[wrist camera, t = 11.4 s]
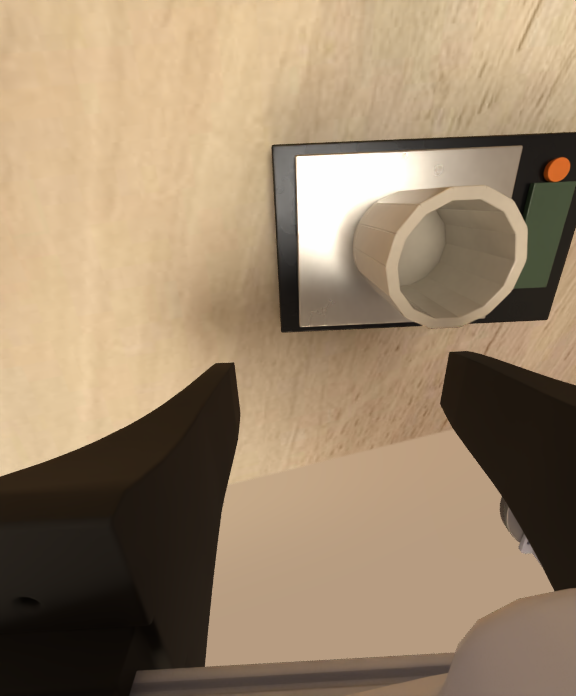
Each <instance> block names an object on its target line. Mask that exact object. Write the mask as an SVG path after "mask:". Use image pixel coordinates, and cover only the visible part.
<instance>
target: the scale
mask: <svg viewBox="0 0 576 696" xmlns="http://www.w3.org/2000/svg"><path fill="white" fill-rule="evenodd" d="M272 164H273V184H274V203H275V222H276V241H277V260H278V280H279V299H280V318H281V332H283V333H284V332H305V331H326V330H347V329H368V328H389V327H410V326H423V325H420V324H418V323H416V322H413V321H411V320H409V319H407V318H406V317H404V316H403V315H402V314H401V313H400V312H399V311H398V310H396V309H395V308H394V307H393V306H392V305H391V304H390V303H389V302H388V301H387V300H385V299H384V298H383V297H382V296H381V295H380V294H379V293H378V292H377V291H376V290H374V289H373V288H372V287H371V286H370V285H369V284H368V282H367V281H366V280H365V279H364V278H363V277H362V276H361V274H360V273H359V271H358V269H357V267H356V265H355V262H354V258H353V238H354V234H355V231H356V228H357V225H358V223H359V221H360V220H361V218H362V216H363V215H364V214H365V212H366V211H367V210H368V209H369V208H370V207H371V206H372V205H373V204H374V203H375V202H377V201H378V200H379V199H381V198H383V197H385V196H387V195H389V194H392V193H396V192H398V191H405V190H417V189H428V188H440V187H451V186H472V185H486V186H489V187H491V188H493V189H495V190H496V191H498V192H500V193H502V194H504V195H505V196H507V197H509V198H511V199H512V200H513V201H514V202H515V203H516V205H517V207H518V209H519V211H520V213H521V215H522V217H523V219H524V221H525V223H526V225H527V228H528V240H527V260H526V263H525V265H524V267H523V269H522V271H521V273H520V275H519V278H518V280H517V282H516V284H515V286H514V288H513V290H511V292H510V293H509V294H508V295H507V296H506V297H505V298H504V299H503V300H502V301H501V302H500V303H499V304H498V305H497V306H496V307H495V308H494V309H493V310H492V311H491V312H490V313H489V314H487V315H486V316H483V317H481V318H479V319H477V320H475V321H473V322H470V323H468V324H473V323H494V322H515V321H536V320H547V319H548V316H549V313H550V310H551V307H552V303H553V300H554V297H555V293H556V290H557V287H558V284H559V280H560V277H561V274H562V271H563V267H564V264H565V261H566V257H567V254H568V251H569V248H570V244H571V241H572V238H573V234H574V231H575V228H576V132H564V133H540V134H516V135H492V136H469V137H445V138H421V139H398V140H374V141H350V142H326V143H303V144H279V145H272Z"/></svg>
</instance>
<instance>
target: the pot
mask: <svg viewBox="0 0 576 696" xmlns="http://www.w3.org/2000/svg"><path fill="white" fill-rule="evenodd" d="M527 240H528V228H527V225H526V223H525V221H524V219H523V217H522V215H521V213H520V211H519V209H518V207H517V205H516V203H515V202H514V201H513V200H512V199H511V198H509V197H507V196H505V195H504V194H502V193H500V192H498V191H496V190H495V189H493V188H491V187H489V186H486V185H472V186H451V187H440V188H428V189H417V190H405V191H398V192H396V193H392V194H389V195H387V196H385V197H383V198H381V199H379V200H378V201H377V202H375V203H374V204H373V205H372V206H371V207H370V208H369V209H368V210H367V211H366V212H365V214H364V215H363V216H362V218H361V220H360V221H359V223H358V225H357V228H356V231H355V234H354V238H353V258H354V262H355V265H356V267H357V269H358V271H359V273H360V274H361V276H362V277H363V278H364V279H365V280H366V281H367V282H368V284H369V285H370V286H371V287H372V288H373V289H374V290H376V291H377V292H378V293H379V294H380V295H381V296H382V297H383V298H384V299H385V300H387V301H388V302H389V303H390V304H391V305H392V306H393V307H394V308H395V309H396V310H398V311H399V312H400V313H401V314H402V315H403V316H404V317H406V318H407V319H409V320H411V321H413V322H416V323H418V324H420V325H423V326H425V327H427V328H431V329H437V328H458V327H462V326H464V325H466V324H468V323H470V322H473V321H475V320H477V319H479V318H481V317H483V316H486V315H487V314H489V313H490V312H491V311H492V310H493V309H494V308H495V307H496V306H497V305H498V304H499V303H500V302H501V301H502V300H503V299H504V298H505V297H506V296H507V295H508V294H509V293H510V292H511V290H513V288H514V286H515V284H516V282H517V280H518V278H519V275H520V273H521V271H522V269H523V267H524V265H525V263H526V260H527Z"/></svg>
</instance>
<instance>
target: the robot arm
mask: <svg viewBox="0 0 576 696" xmlns="http://www.w3.org/2000/svg"><path fill="white" fill-rule="evenodd" d="M440 405H441V407H442V409H443V411H444V413H445V415H446V417H447V419H448V420H449V422H450V424H451V426H452V428H453V429H454V431H455V432H456V433H457V435H458V436H459V438H460V439H461V440H462V442H463V443H464V445H465V446H466V447H467V449H468V450H469V451H470V453H471V454H472V455H473V457H474V458H475V459H476V461H477V462H478V463H479V465H480V466H481V468H482V469H483V470H484V472H485V473H486V474H487V476H488V477H489V478H490V479H491V481H492V482H493V484H494V485H495V487H496V488H497V489H498V491H499V492H500V494H501V495H502V497H503V498H504V500H505V502H506V503H507V505H508V507H509V509H510V510H511V512H512V514H513V515H514V517H515V519H516V520H517V522H518V524H519V525H520V527H521V529H522V531H523V532H524V534H523V537H522V539H521V542H520V545H519V549H520V551H521V552H522V553H525V554H527V553H532V554H533V555H534V556H535V558H536V559H537V560H538V562H539V563H540V565H541V566H542V567H543V569H544V571H545V573H546V575H547V577H548V579H549V581H550V583H551V585H552V587H553V589H554V592H550V593H545V594H540V595H535V596H530V597H525V598H520V599H517V600H516V601H513V602H511V603H510V604H508V605H506V606H504V607H502V608H500V609H498V610H496V611H494V612H492V613H490V614H488V615H487V616H485V617H483V618H481V619H479V620H478V621H477V622H476V623H475V625H474V626H473V627H472V628H471V629H470V631H469V632H468V633H467V634H466V635H465V637H464V638H463V639H462V641H461V642H460V643H459V644H458V646H457V649H456V652H455V653H439V654H422V655H404V656H387V657H370V658H352V659H337V660H336V659H334V660H319V661H318V660H317V661H301V662H300V661H299V662H282V663H267V664H266V663H264V664H247V665H230V666H212V667H205V658H206V647H207V635H208V625H209V616H210V606H211V596H212V586H213V577H214V568H215V560H216V551H217V543H218V535H219V527H220V519H221V512H222V507H223V502H224V497H225V492H226V488H227V484H228V480H229V476H230V472H231V467H232V463H233V459H234V455H235V450H236V446H237V441H238V434H239V424H240V406H239V398H238V390H237V381H236V373H235V365H234V363H216V364H214V365H213V366H212V367H210V368H209V369H208V370H207V371H205V372H204V373H203V374H202V375H201V376H199V377H198V378H197V379H196V380H195V381H193V382H192V383H191V384H190V385H188V386H187V387H186V388H185V389H183V390H182V391H181V392H179V393H178V394H177V395H175V396H174V397H173V398H171V399H170V400H168V401H167V402H166V403H164V404H163V405H161V406H160V407H158V408H157V409H155V410H154V411H152V412H151V413H149V414H147V415H146V416H144V417H142V418H141V419H139V420H137V421H135V422H134V423H132V424H130V425H128V426H126V427H124V428H122V429H120V430H118V431H116V432H114V433H112V434H110V435H108V436H106V437H104V438H102V439H100V440H98V441H96V442H93V443H91V444H89V445H86V446H84V447H82V448H79V449H77V450H75V451H72V452H70V453H67V454H64V455H62V456H59V457H57V458H54V459H51V460H49V461H46V462H43V463H40V464H38V465H34V466H31V467H28V468H25V469H22V470H19V471H16V472H13V473H10V474H7V475H4V476H1V477H0V696H576V386H575V385H572V384H569V383H566V382H562V381H559V380H556V379H553V378H550V377H547V376H544V375H541V374H538V373H535V372H532V371H529V370H526V369H523V368H521V367H518V366H515V365H512V364H509V363H506V362H503V361H500V360H498V359H495V358H492V357H488V356H485V355H482V354H478V353H474V352H469V351H461V352H449V357H448V363H447V368H446V374H445V379H444V385H443V390H442V396H441V401H440Z"/></svg>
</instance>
